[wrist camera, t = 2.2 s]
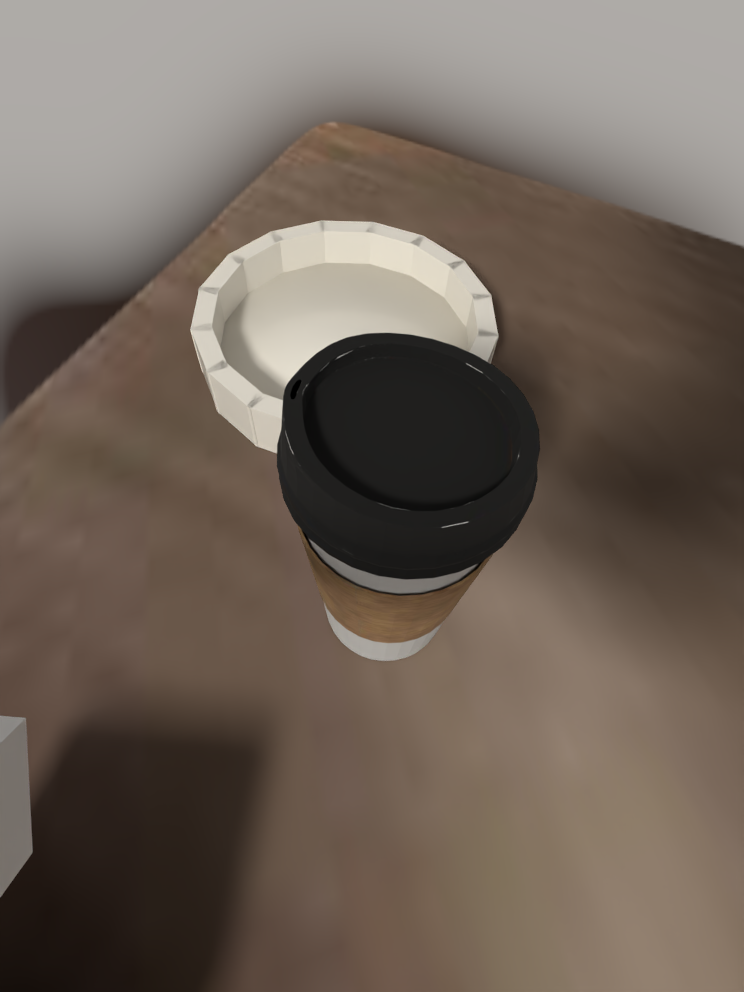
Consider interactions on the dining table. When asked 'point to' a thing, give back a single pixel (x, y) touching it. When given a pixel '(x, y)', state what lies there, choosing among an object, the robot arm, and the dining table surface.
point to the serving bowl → (325, 309)
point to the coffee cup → (402, 480)
